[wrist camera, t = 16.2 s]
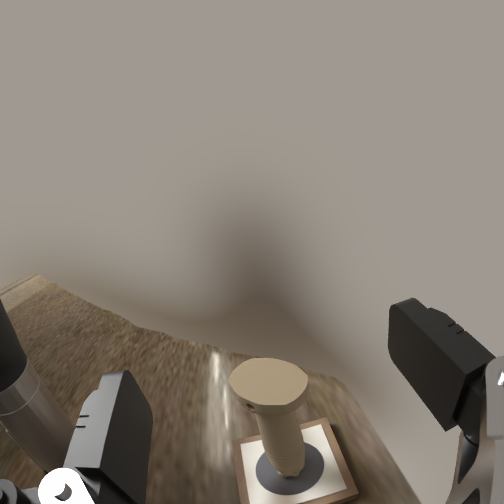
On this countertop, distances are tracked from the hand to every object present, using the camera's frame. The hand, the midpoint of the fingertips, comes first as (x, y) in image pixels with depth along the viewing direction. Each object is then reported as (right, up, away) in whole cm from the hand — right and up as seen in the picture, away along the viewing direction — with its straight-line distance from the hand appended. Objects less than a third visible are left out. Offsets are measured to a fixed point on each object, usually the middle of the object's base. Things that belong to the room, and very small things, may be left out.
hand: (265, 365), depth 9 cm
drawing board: (+4, -22, +20) cm, 30 cm away
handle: (+4, -20, +19) cm, 29 cm away
